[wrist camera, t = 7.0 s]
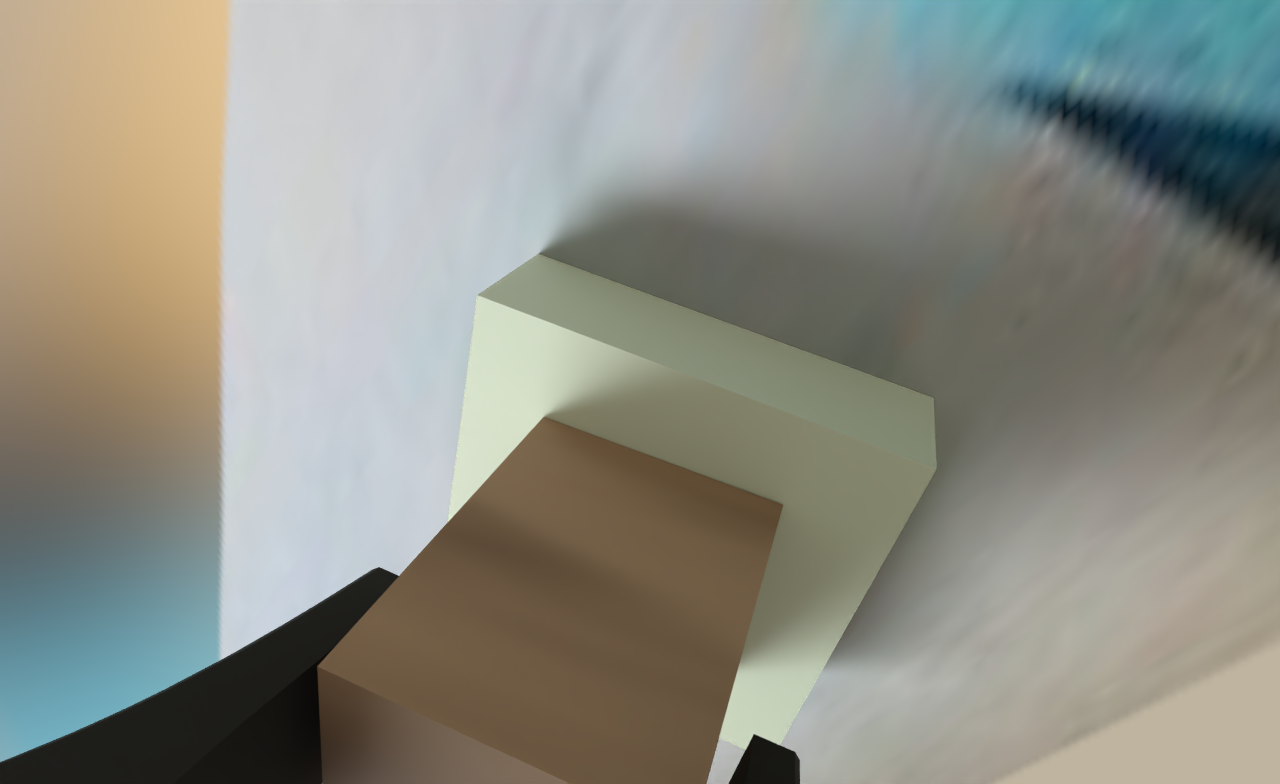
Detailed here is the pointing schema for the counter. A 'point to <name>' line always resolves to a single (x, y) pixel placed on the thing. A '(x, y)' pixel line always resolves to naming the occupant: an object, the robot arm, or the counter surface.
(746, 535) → the walnut block
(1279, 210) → the counter surface
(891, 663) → the counter surface
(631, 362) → the sage block
